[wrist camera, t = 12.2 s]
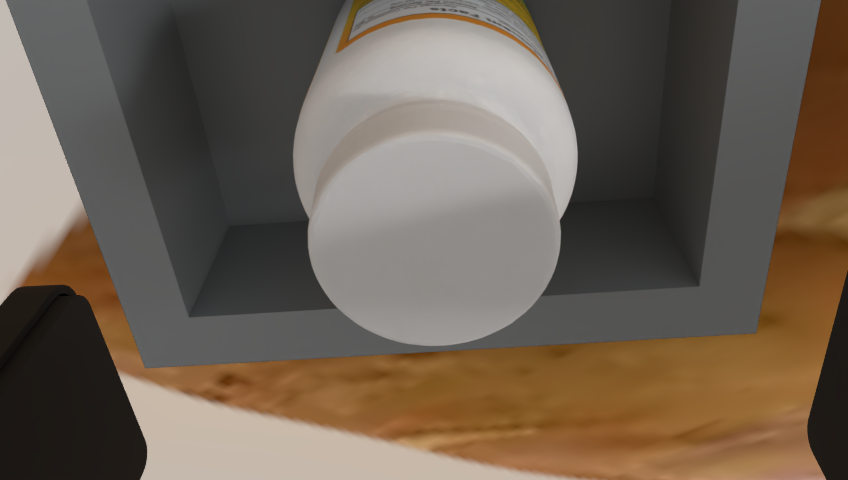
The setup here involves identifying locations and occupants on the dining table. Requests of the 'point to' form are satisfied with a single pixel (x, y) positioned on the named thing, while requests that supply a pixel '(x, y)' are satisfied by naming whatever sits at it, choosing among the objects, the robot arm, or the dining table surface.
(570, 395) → the dining table surface
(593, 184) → the box
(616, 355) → the dining table surface
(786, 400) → the dining table surface
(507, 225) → the supplement bottle
